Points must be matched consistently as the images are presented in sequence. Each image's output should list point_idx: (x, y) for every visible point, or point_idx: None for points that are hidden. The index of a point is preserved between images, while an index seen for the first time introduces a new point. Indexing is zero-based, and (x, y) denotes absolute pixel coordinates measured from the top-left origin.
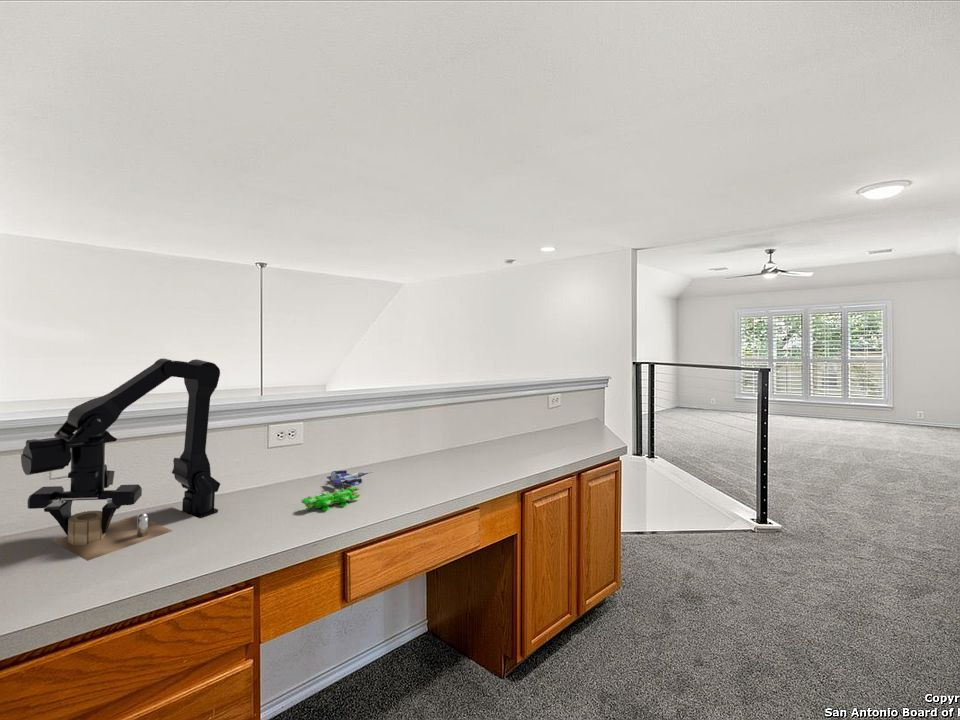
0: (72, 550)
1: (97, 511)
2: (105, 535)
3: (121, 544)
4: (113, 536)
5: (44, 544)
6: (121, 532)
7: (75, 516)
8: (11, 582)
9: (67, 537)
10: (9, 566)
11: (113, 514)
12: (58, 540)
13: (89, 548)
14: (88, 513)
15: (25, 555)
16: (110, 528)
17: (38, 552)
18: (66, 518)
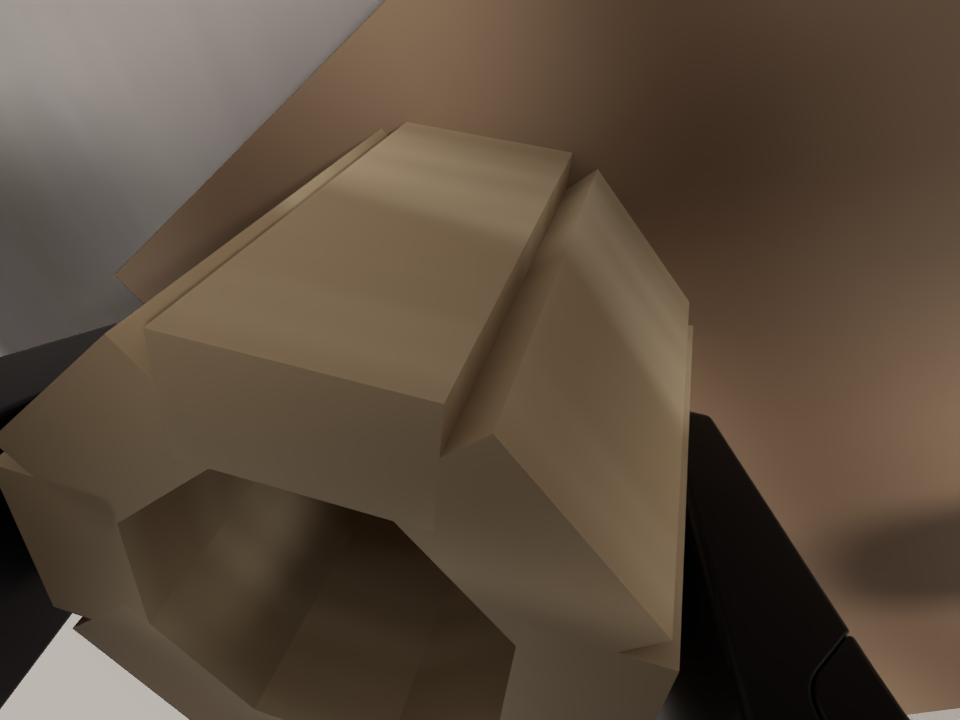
0: None
1: (430, 452)
2: (697, 327)
3: (896, 644)
4: (813, 399)
5: (43, 110)
6: (957, 299)
7: (93, 547)
8: None
9: (222, 228)
10: None
11: (884, 691)
12: (170, 283)
13: None
14: (253, 463)
15: (55, 323)
16: (771, 26)
17: (115, 300)
18: (16, 600)
